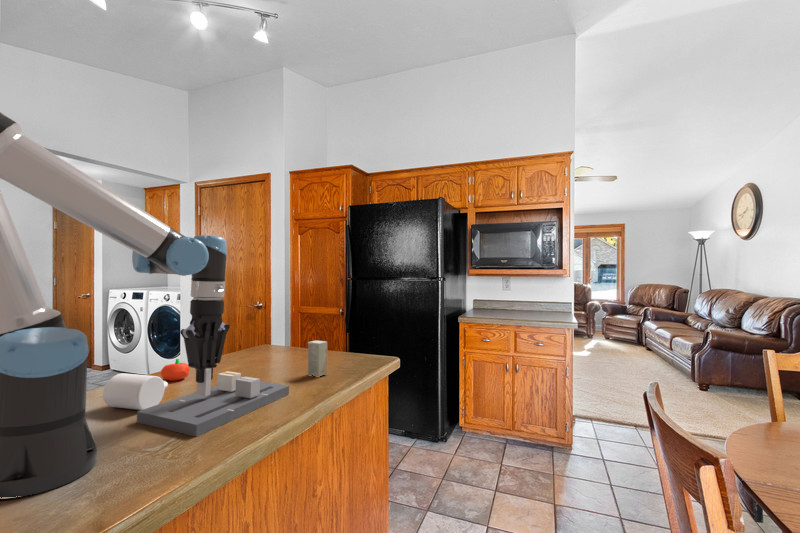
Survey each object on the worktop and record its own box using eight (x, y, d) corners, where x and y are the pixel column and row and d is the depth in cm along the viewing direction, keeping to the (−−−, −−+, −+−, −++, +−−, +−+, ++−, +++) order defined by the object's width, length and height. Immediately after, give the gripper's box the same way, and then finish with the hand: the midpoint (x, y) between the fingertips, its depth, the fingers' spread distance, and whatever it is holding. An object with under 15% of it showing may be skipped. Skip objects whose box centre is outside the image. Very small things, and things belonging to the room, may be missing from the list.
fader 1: (231, 391, 100) (231, 375, 100) (217, 389, 101) (217, 373, 102) (240, 388, 103) (241, 372, 103) (226, 386, 104) (227, 370, 105)
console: (199, 437, 79) (200, 425, 79) (136, 422, 86) (137, 410, 86) (291, 394, 107) (291, 385, 107) (238, 386, 114) (238, 377, 114)
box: (327, 375, 128) (328, 341, 128) (318, 378, 124) (319, 343, 124) (316, 372, 131) (316, 339, 131) (306, 375, 127) (307, 341, 127)
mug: (137, 415, 90) (138, 381, 90) (102, 411, 92) (103, 377, 92) (176, 399, 102) (177, 368, 102) (144, 395, 104) (145, 366, 104)
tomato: (158, 381, 119) (158, 360, 119) (187, 377, 124) (186, 356, 125) (163, 383, 114) (163, 361, 114) (193, 379, 119) (193, 357, 120)
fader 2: (250, 398, 95) (250, 381, 95) (235, 395, 97) (235, 378, 97) (259, 394, 98) (260, 378, 98) (244, 392, 100) (245, 375, 100)
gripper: (196, 300, 88) (192, 405, 88) (239, 298, 100) (235, 389, 100) (173, 299, 91) (168, 400, 90) (217, 296, 103) (213, 385, 102)
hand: (203, 394), depth 95 cm, fingers closed
